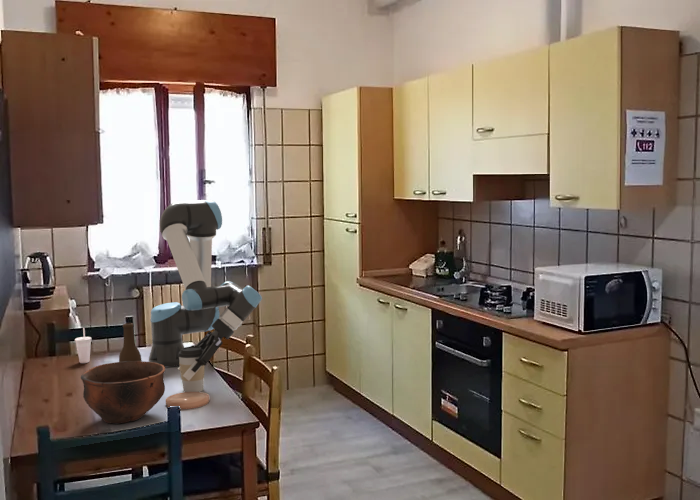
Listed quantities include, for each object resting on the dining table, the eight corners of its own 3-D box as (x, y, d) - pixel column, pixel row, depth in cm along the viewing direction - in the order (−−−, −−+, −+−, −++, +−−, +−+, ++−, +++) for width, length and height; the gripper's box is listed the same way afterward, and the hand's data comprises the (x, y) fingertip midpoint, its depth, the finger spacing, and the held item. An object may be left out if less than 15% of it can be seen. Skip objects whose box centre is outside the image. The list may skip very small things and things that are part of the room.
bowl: (160, 429, 216) (157, 379, 214) (73, 434, 214) (70, 383, 212) (173, 403, 240) (171, 358, 239) (96, 407, 239) (93, 361, 237)
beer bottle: (136, 387, 260) (132, 320, 257) (147, 391, 254) (144, 323, 252) (116, 392, 255) (112, 323, 252) (127, 396, 249) (123, 327, 246)
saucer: (167, 397, 247) (167, 393, 246) (210, 394, 249) (210, 390, 249) (163, 410, 233) (163, 406, 233) (208, 407, 235) (208, 403, 235)
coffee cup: (200, 394, 249) (198, 351, 248) (175, 393, 251) (173, 350, 250) (210, 386, 258) (208, 344, 257) (186, 385, 260) (184, 344, 258)
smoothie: (89, 363, 294) (87, 329, 292) (73, 364, 294) (71, 329, 292) (95, 359, 300) (93, 326, 299) (79, 360, 300) (77, 326, 299)
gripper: (242, 337, 248) (197, 389, 244) (227, 325, 268) (185, 373, 264) (226, 323, 246) (180, 376, 242) (212, 312, 266) (169, 360, 261)
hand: (183, 374), depth 253 cm, fingers closed on coffee cup, 9 cm apart
